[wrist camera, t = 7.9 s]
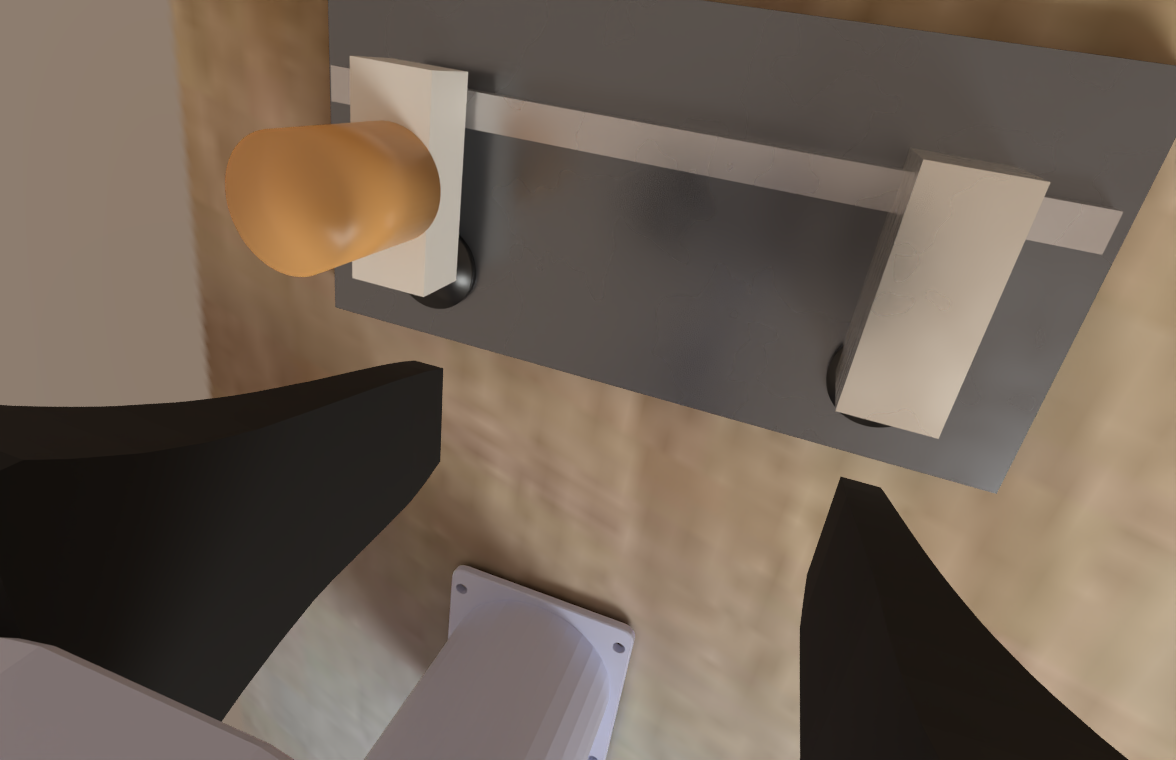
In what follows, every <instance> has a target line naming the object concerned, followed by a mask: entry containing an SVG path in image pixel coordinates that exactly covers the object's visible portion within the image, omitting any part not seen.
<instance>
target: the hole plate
mask: <svg viewBox="0 0 1176 760" xmlns="http://www.w3.org/2000/svg"><path fill="white" fill-rule="evenodd" d="M328 20H329V61H330V102H331V124H339V123H350V56H365V57H381V58H394V59H399V60H405V61H411V62H416V63H422V64H428V65H433V66H439V67H445V68H450V69H456V70H461V71H467V72H468V85H467V102H466V119H465V136H464V153H463V170H462V187H461V204H460V221H459V238H458V255H457V272H456V281H454V282H452V283H450V284H448V285H446V286H444V287H442V288H441V289H439V290H437V291H435V292H433V293H431V294H429V295H427V296H425V297H421V296H418V295H414V294H410V293H406V292H403V291H399V290H395V289H391V288H388V287H384V286H380V285H377V284H373V283H369V282H365V281H362V280H358V279H354V278H352V262H349V263H346V264H344V265H341V266H338V267H335V307H336V308H340V309H343V310H347V311H350V312H354V313H358V314H361V315H365V316H368V317H372V318H375V319H379V320H382V321H386V322H389V323H393V324H397V325H400V326H404V327H407V328H411V329H414V330H418V331H421V332H425V333H428V334H432V335H435V336H439V337H443V338H446V339H450V340H453V341H457V342H460V343H464V344H467V345H471V346H474V347H478V348H482V349H485V350H489V351H492V352H496V353H499V354H503V355H506V356H510V357H513V358H517V359H521V360H524V361H528V362H531V363H535V364H538V365H542V366H545V367H549V368H552V369H556V370H560V371H563V372H567V373H570V374H574V375H577V376H581V377H584V378H588V379H591V380H595V381H599V382H602V383H606V384H609V385H613V386H616V387H620V388H623V389H627V390H630V391H634V392H638V393H641V394H645V395H648V396H652V397H655V398H659V399H662V400H666V401H669V402H673V403H677V404H680V405H684V406H687V407H691V408H694V409H698V410H701V411H705V412H708V413H712V414H716V415H719V416H723V417H726V418H730V419H733V420H737V421H740V422H744V423H747V424H751V425H755V426H758V427H762V428H765V429H769V430H772V431H776V432H779V433H783V434H786V435H790V436H794V437H797V438H801V439H804V440H808V441H811V442H815V443H818V444H822V445H825V446H829V447H832V448H836V449H840V450H843V451H847V452H850V453H854V454H857V455H861V456H864V457H868V458H871V459H875V460H879V461H882V462H886V463H889V464H893V465H896V466H900V467H903V468H907V469H910V470H914V471H918V472H921V473H925V474H928V475H932V476H935V477H939V478H942V479H946V480H949V481H953V482H957V483H960V484H964V485H967V486H971V487H974V488H978V489H981V490H985V491H988V492H992V493H996V494H997V492H998V490H999V488H1000V486H1001V484H1002V482H1003V480H1004V478H1005V476H1006V474H1007V472H1008V470H1009V468H1010V466H1011V464H1012V462H1013V460H1014V458H1015V456H1016V454H1017V452H1018V450H1019V448H1020V446H1021V444H1022V442H1023V440H1024V438H1025V436H1026V434H1027V432H1028V430H1029V428H1030V426H1031V424H1032V422H1033V420H1034V418H1035V416H1036V414H1037V412H1038V410H1039V408H1040V406H1041V404H1042V402H1043V400H1044V398H1045V396H1046V394H1047V392H1048V390H1049V388H1050V386H1051V384H1052V383H1053V381H1054V379H1055V377H1056V375H1057V373H1058V371H1059V369H1060V367H1061V365H1062V363H1063V361H1064V359H1065V357H1066V355H1067V353H1068V351H1069V349H1070V347H1071V345H1072V343H1073V341H1074V339H1075V337H1076V335H1077V333H1078V331H1079V329H1080V327H1081V325H1082V323H1083V321H1084V319H1085V317H1086V315H1087V313H1088V311H1089V309H1090V307H1091V305H1092V303H1093V301H1094V299H1095V297H1096V295H1097V293H1098V291H1099V289H1100V287H1101V285H1102V283H1103V281H1104V279H1105V277H1106V275H1107V273H1108V271H1109V269H1110V267H1111V265H1112V263H1113V261H1114V259H1115V257H1116V255H1117V253H1118V251H1119V249H1120V247H1121V245H1122V243H1123V241H1124V239H1125V237H1126V235H1127V233H1128V231H1129V229H1130V227H1131V225H1132V223H1133V221H1134V220H1135V218H1136V216H1137V214H1138V212H1139V210H1140V208H1141V206H1142V204H1143V202H1144V200H1145V198H1146V196H1147V194H1148V192H1149V190H1150V188H1151V186H1152V184H1153V182H1154V180H1155V178H1156V176H1157V174H1158V172H1159V170H1160V168H1161V166H1162V164H1163V162H1164V160H1165V158H1166V156H1167V154H1168V152H1169V150H1170V148H1171V146H1172V144H1173V142H1174V140H1175V138H1176V66H1175V65H1168V64H1160V63H1153V62H1146V61H1139V60H1131V59H1124V58H1117V57H1110V56H1102V55H1095V54H1088V53H1081V52H1073V51H1066V50H1059V49H1052V48H1044V47H1037V46H1030V45H1023V44H1015V43H1008V42H1001V41H994V40H986V39H979V38H972V37H965V36H957V35H950V34H943V33H936V32H928V31H921V30H914V29H907V28H899V27H892V26H885V25H878V24H870V23H863V22H856V21H849V20H841V19H834V18H827V17H820V16H812V15H805V14H798V13H791V12H783V11H776V10H769V9H762V8H754V7H747V6H740V5H733V4H725V3H718V2H711V1H704V0H328Z"/></svg>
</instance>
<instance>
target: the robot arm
mask: <svg viewBox="0 0 1176 760" xmlns="http://www.w3.org/2000/svg"><path fill="white" fill-rule="evenodd" d="M442 389H443V368H440V367H436V366H432V365H429V364H425V363H421V362H418V361H405V362H398V363H392V364H386V365H381V366H376V367H372V368H367V369H363V370H358V371H354V372H349V373H345V374H341V375H336V376H332V377H327V378H323V379H319V380H314V381H310V382H305V383H299V384H294V385H289V386H284V387H279V388H274V389H269V390H264V391H259V392H253V393H247V394H241V395H235V396H228V397H221V398H212V399H204V400H196V401H187V402H176V403H161V404H144V405H127V406H108V407H107V406H106V407H33V406H7V405H0V760H294V759H293V758H291V757H289V756H288V755H286V754H285V753H283V752H282V751H280V750H279V749H277V748H276V747H274V746H273V745H271V744H269V743H267V742H265V741H262V740H260V739H258V738H256V737H254V736H251V735H249V734H247V733H245V732H243V731H240V730H238V729H236V728H234V727H232V726H229V725H227V724H225V723H223V722H222V720H223V719H224V717H225V716H226V714H227V713H228V712H229V710H230V709H231V707H232V706H233V705H234V703H235V702H236V700H237V699H238V697H239V696H240V695H241V693H242V692H243V690H244V689H245V688H246V686H247V685H248V684H249V682H250V681H251V680H252V678H253V677H254V676H255V675H256V673H257V672H258V671H259V669H260V668H261V667H262V665H263V664H264V663H265V661H266V660H267V659H268V657H269V656H270V655H271V653H272V652H273V651H274V649H275V648H276V647H277V645H278V644H279V643H280V642H281V640H282V639H283V638H284V637H285V635H286V634H287V633H288V632H289V630H290V629H291V628H292V627H293V625H294V624H295V623H296V622H297V620H298V619H299V618H300V617H301V616H302V614H303V613H304V612H305V611H306V609H307V608H308V607H309V606H310V604H311V603H312V602H313V601H314V600H315V598H316V597H317V596H318V595H319V594H320V593H321V592H322V591H323V590H324V589H325V588H326V586H327V585H328V584H329V583H330V582H331V581H332V580H333V579H334V578H335V577H336V576H337V575H338V574H339V573H340V572H341V571H342V570H343V569H344V568H345V567H346V566H347V565H348V564H349V563H350V562H351V561H352V560H353V559H354V558H355V557H356V556H357V555H358V554H359V553H360V552H361V551H362V550H363V549H364V548H365V547H366V546H367V545H368V544H369V543H370V542H371V541H372V540H373V539H374V538H375V537H376V536H377V535H378V534H379V533H380V532H381V531H382V530H383V529H384V528H385V527H386V526H387V525H388V524H389V523H390V522H391V521H392V520H393V519H394V518H395V517H396V516H397V515H398V514H399V513H400V512H401V511H402V510H403V509H404V508H405V507H406V506H407V505H408V504H409V502H410V501H411V500H412V499H413V498H414V496H415V495H416V494H417V493H418V491H419V490H420V489H421V487H422V486H423V485H424V483H425V482H426V481H427V479H428V478H429V476H430V475H431V474H432V472H433V471H434V469H435V468H436V466H437V465H438V464H439V462H440V450H441V420H442ZM462 584H463V585H464V586H465V587H464V586H463V585H462ZM634 639H635V632H634V630H633V629H632V628H631V627H630V626H629V625H627V624H625V623H622V622H619V621H617V620H614V619H611V618H608V617H606V616H603V615H600V614H597V613H595V612H592V611H589V610H587V609H584V608H581V607H578V606H576V605H573V604H570V603H567V602H565V601H562V600H559V599H557V598H554V597H551V596H548V595H546V594H543V593H540V592H537V591H535V590H532V589H529V588H527V587H524V586H521V585H518V584H516V583H513V582H510V581H507V580H505V579H502V578H499V577H497V576H494V575H491V574H488V573H486V572H483V571H480V570H478V569H475V568H472V567H469V566H466V565H460V566H458V567H457V568H456V569H455V571H454V572H453V575H452V587H451V601H450V615H449V629H448V641H447V642H446V643H445V645H444V646H443V648H442V649H441V651H440V652H439V653H438V655H437V656H436V658H435V659H434V660H433V662H432V663H431V665H430V666H429V668H428V669H427V670H426V672H425V673H424V675H423V676H422V678H421V679H420V680H419V682H418V683H417V685H416V686H415V688H414V689H413V690H412V692H411V693H410V695H409V696H408V697H407V699H406V700H405V702H404V703H403V705H402V706H401V707H400V709H399V710H398V712H397V713H396V715H395V716H394V717H393V719H392V720H391V722H390V723H389V725H388V726H387V727H386V729H385V730H384V732H383V733H382V734H381V736H380V737H379V739H378V740H377V742H376V743H375V744H374V746H373V747H372V749H371V750H370V752H369V753H368V754H367V756H366V757H365V759H364V760H606V756H607V752H608V748H609V743H610V739H611V735H612V731H613V727H614V723H615V719H616V714H617V710H618V706H619V702H620V698H621V694H622V689H623V685H624V681H625V677H626V673H627V669H628V664H629V660H630V656H631V652H632V648H633V644H634ZM617 643H620V644H622V645H623V646H620V645H618V644H617ZM800 760H1128V759H1127V758H1126V757H1124V756H1123V755H1122V754H1121V753H1119V752H1118V751H1117V750H1116V749H1115V748H1113V747H1112V746H1111V745H1110V744H1108V743H1107V742H1106V741H1105V740H1104V739H1102V738H1101V737H1100V736H1099V735H1098V734H1096V733H1095V732H1094V731H1093V730H1092V729H1091V728H1090V727H1088V726H1087V725H1086V724H1085V723H1084V722H1083V721H1082V720H1081V719H1079V718H1078V717H1077V716H1076V715H1075V714H1074V713H1073V712H1071V711H1070V710H1069V709H1068V708H1067V707H1066V706H1065V705H1064V704H1062V703H1061V702H1060V701H1059V700H1058V699H1057V698H1056V697H1054V696H1053V695H1052V694H1051V693H1050V692H1049V691H1048V690H1047V689H1046V688H1045V687H1044V686H1043V685H1042V684H1041V683H1040V682H1038V681H1037V680H1036V679H1035V678H1034V677H1033V676H1032V675H1031V674H1030V673H1029V672H1028V671H1027V670H1026V669H1025V668H1024V667H1023V666H1022V665H1021V664H1020V663H1019V662H1018V661H1017V660H1016V659H1015V658H1014V657H1013V656H1012V655H1011V654H1010V653H1009V651H1008V650H1007V649H1006V648H1005V647H1004V646H1003V645H1002V644H1001V643H1000V642H999V641H998V640H997V639H996V638H995V637H994V636H993V635H992V634H991V633H990V632H989V631H988V629H987V628H986V627H985V626H984V625H983V624H982V623H981V622H980V621H979V619H978V618H977V617H976V616H975V615H974V614H973V612H972V611H971V610H970V609H969V608H968V606H967V605H966V604H965V603H964V602H963V600H962V599H961V598H960V597H959V596H958V594H957V593H956V592H955V591H954V590H953V588H952V587H951V586H950V585H949V583H948V582H947V581H946V579H945V578H944V577H943V576H942V574H941V573H940V572H939V570H938V569H937V568H936V566H935V565H934V564H933V562H932V561H931V560H930V558H929V557H928V556H927V554H926V553H925V551H924V550H923V549H922V547H921V546H920V544H919V543H918V542H917V540H916V539H915V537H914V536H913V534H912V533H911V531H910V530H909V529H908V527H907V526H906V524H905V523H904V521H903V520H902V518H901V517H900V515H899V514H898V512H897V511H896V509H895V508H894V506H893V505H892V503H891V502H890V500H889V499H888V497H887V496H886V494H885V493H884V492H883V490H882V489H881V488H880V487H877V486H873V485H869V484H866V483H862V482H858V481H855V480H851V479H847V478H844V477H840V480H839V483H838V486H837V489H836V492H835V495H834V498H833V501H832V504H831V507H830V509H829V512H828V515H827V518H826V521H825V524H824V527H823V530H822V533H821V536H820V539H819V541H818V544H817V547H816V550H815V553H814V556H813V559H812V562H811V565H810V568H809V571H808V573H807V579H806V586H805V593H804V600H803V608H802V616H801V624H800Z"/></svg>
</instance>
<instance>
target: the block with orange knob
mask: <svg viewBox="0 0 1176 760" xmlns="http://www.w3.org/2000/svg"><path fill="white" fill-rule="evenodd" d="M467 85H468V72H467V71H461V70H456V69H450V68H445V67H439V66H433V65H428V64H422V63H416V62H411V61H405V60H399V59H394V58H381V57H365V56H350V123H339V124H326V125H313V126H300V127H287V128H274V129H263V130H258V131H255V132H253V133H250V134H249V135H247V136H246V137H244V138H243V139H242V140H241V141H240V142H239V143H238V144H237V145H236V147H235V148H234V150H233V152H232V154H231V156H230V158H229V161H228V164H227V169H226V176H225V192H226V199H227V204H228V208H229V211H230V214H231V217H232V220H233V222H234V224H235V227H236V229H237V231H238V232H239V234H240V236H241V238H242V239H243V240H244V242H245V243H246V245H247V246H248V247H249V248H250V250H251V251H252V252H253V253H254V254H255V255H256V256H257V257H258V258H259V259H260V260H261V261H263V262H264V263H265V264H266V265H268V266H270V267H271V268H273V269H275V270H277V271H279V272H281V273H283V274H286V275H290V276H295V277H307V276H312V275H316V274H319V273H321V272H324V271H327V270H330V269H333V268H335V267H338V266H341V265H344V264H346V263H349V262H352V278H354V279H358V280H362V281H365V282H369V283H373V284H377V285H380V286H384V287H388V288H391V289H395V290H399V291H403V292H406V293H410V294H414V295H418V296H421V297H425V296H427V295H429V294H431V293H433V292H435V291H437V290H439V289H441V288H442V287H444V286H446V285H448V284H450V283H452V282H454V281H456V272H457V255H458V238H459V221H460V204H461V187H462V170H463V153H464V136H465V119H466V102H467Z"/></svg>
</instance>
